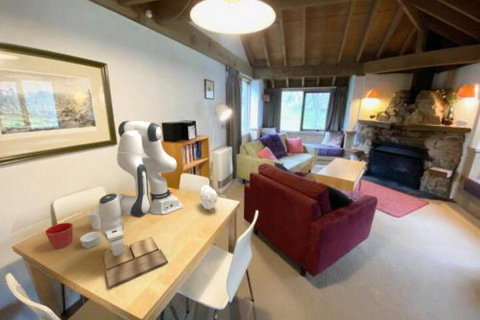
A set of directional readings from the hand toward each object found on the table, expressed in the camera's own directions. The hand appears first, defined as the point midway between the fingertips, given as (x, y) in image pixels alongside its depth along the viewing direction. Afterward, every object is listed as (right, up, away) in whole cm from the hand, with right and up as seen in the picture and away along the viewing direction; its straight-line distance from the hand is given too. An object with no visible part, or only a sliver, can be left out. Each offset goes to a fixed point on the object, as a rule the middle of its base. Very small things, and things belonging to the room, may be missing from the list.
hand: (116, 252), depth 103 cm
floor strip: (+14, -4, -7) cm, 17 cm away
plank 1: (+2, -2, -2) cm, 3 cm away
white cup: (-25, +5, +24) cm, 35 cm away
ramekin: (-19, +1, +9) cm, 21 cm away
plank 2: (+11, -1, +6) cm, 13 cm away
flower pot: (-33, +1, +8) cm, 34 cm away
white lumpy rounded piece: (+38, +9, +49) cm, 63 cm away
